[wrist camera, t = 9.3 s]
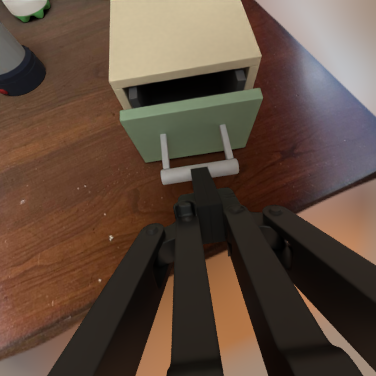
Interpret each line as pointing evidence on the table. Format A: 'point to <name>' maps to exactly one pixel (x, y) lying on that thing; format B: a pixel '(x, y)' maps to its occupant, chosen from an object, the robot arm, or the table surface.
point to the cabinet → (178, 42)
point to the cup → (27, 8)
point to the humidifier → (18, 66)
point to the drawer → (192, 120)
